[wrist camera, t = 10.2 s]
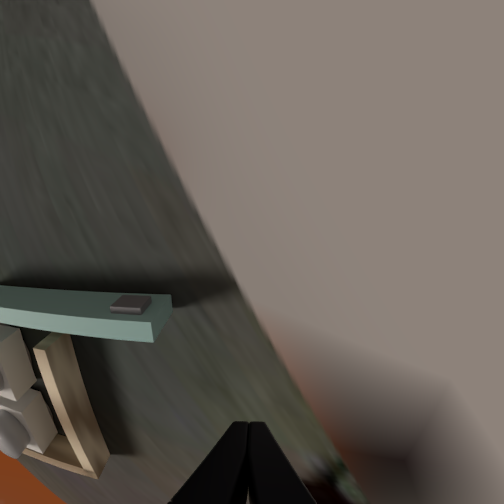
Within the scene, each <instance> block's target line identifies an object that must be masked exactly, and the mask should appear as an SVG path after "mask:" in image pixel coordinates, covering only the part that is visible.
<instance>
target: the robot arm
mask: <svg viewBox="0 0 504 504" xmlns="http://www.w3.org/2000/svg"><path fill="white" fill-rule="evenodd" d="M248 491H249V502H250V504H317V503H316V502H315V500H314V499H313V497H312V496H311V494H310V493H309V491H308V490H307V488H306V487H305V485H304V484H303V482H302V481H301V479H300V478H299V476H298V475H297V473H296V471H295V470H294V468H293V467H292V465H291V464H290V462H289V461H288V459H287V457H286V456H285V454H284V453H283V451H282V449H281V448H280V446H279V445H278V443H277V441H276V440H275V438H274V436H273V435H272V433H271V432H270V430H269V428H268V427H267V425H266V423H265V422H250V423H248V422H246V421H234V422H233V423H232V424H231V425H230V427H229V428H228V429H227V431H226V432H225V433H224V435H223V436H222V437H221V439H220V440H219V441H218V442H217V444H216V445H215V446H214V448H213V449H212V450H211V451H210V453H209V454H208V455H207V456H206V458H205V459H204V460H203V461H202V463H201V464H200V465H199V466H198V468H197V469H196V470H195V471H194V473H193V474H192V475H191V476H190V477H189V479H188V480H187V481H186V482H185V484H184V485H183V486H182V487H181V488H180V489H179V491H178V492H177V493H176V494H175V495H174V497H173V498H172V499H171V502H168V503H167V504H246V501H247V494H248Z"/></svg>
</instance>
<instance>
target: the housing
mask: <svg viewBox="0 0 504 504" xmlns="http://www.w3.org/2000/svg"><path fill="white" fill-rule="evenodd" d="M0 325H3V326H9V325H7V324H4V323H0ZM9 327H11V326H9ZM24 345H25V348H26V351H27V354H28V357H29V360H30V363H31V366H32V359H31V355H30V352H29V350H28V348H27V346H26V344H25V342H24ZM33 350H34V353H35V357H36V360H37V363H38V366H39V369H40V372H41V375H42V377H43V380H44V383H45V386H46V388H47V391H48V394H49V396H50V399H51V401H52V404H53V406H54V409H55V411H56V413H57V416H58V418H59V420H60V423H61V425H62V427H63V429H64V431H65V434H66V436H67V437H66V436H63V435H60V434H56V436H55V437H54V439H53V440H52V442H51V443H50V444H49V446H48V447H47V449H46V450H45V452H44V453H43V454H42V453H39V452H36V451H34V450H31V449H29V448H25V449H24V451H23V452H22V453H24V454H26V455H29V456H31V457H34V458H36V459H39V460H41V461H44V462H47V463H49V464H52V465H55V466H57V467H60V468H63V469H66V470H69V471H72V472H75V473H79V474H82V475H85V476H88V477H92V478H95V479H99V477H100V475H101V473H102V471H103V469H104V467H105V465H106V462H107V460H108V458H109V456H110V453H109V450H108V448H107V446H106V443H105V441H104V438H103V436H102V433H101V431H100V428H99V426H98V423H97V420H96V418H95V415H94V412H93V409H92V407H91V404H90V401H89V398H88V395H87V392H86V389H85V386H84V383H83V379H82V376H81V373H80V369H79V366H78V362H77V359H76V355H75V351H74V348H73V344H72V340H71V336H70V334H66V333H59V332H51V333H50V334H49V335H48V336H47V337H45V338H44V339H43V340H42V341H41V342H39V343H38V344H37V345H36V346H35V347H34V348H33ZM30 389H32V388H30ZM44 402H45V401H44ZM45 404H46V407H47V409H48V411H49V414H50V416H51V418H52V420H53V421H54V419H53V414H52V412H51V410H50V408H49V406H48V405H47V403H46V402H45Z"/></svg>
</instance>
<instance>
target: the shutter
mask: <svg viewBox="0 0 504 504" xmlns="http://www.w3.org/2000/svg"><path fill="white" fill-rule="evenodd" d="M172 312H173V309H172V299H171V295H168V294H136V293H112V292H91V291H73V290H57V289H42V288H29V287H16V286H4V285H0V323H4V324H10V325H15V326H21V327H27V328H33V329H39V330H45V331H52V332H59V333H66V334H74V335H81V336H90V337H99V338H108V339H118V340H129V341H141V342H154V341H155V340H156V338H157V336H158V335H159V333H160V331H161V330H162V328H163V327H164V325H165V323H166V322H167V320H168V319H169V317H170V315H171V314H172Z"/></svg>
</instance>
